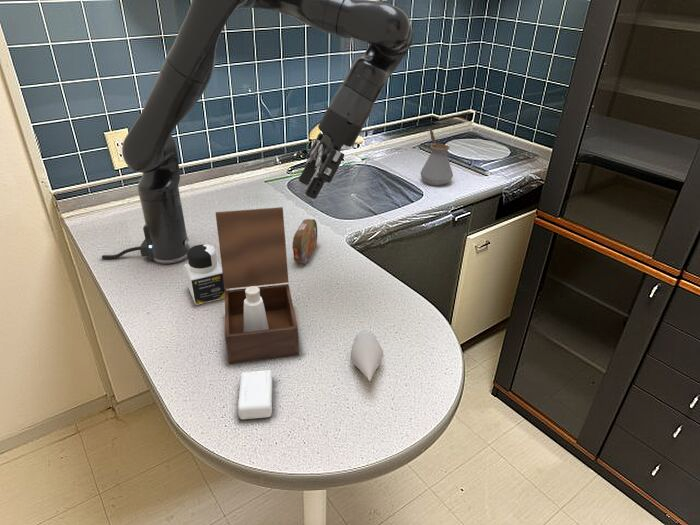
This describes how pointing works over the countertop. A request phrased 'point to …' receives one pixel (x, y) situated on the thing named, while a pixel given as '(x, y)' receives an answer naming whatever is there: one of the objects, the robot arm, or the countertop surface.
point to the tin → (305, 241)
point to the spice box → (262, 342)
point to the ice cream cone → (366, 353)
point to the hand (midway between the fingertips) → (306, 189)
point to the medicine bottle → (204, 274)
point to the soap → (255, 395)
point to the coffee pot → (437, 165)
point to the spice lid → (252, 247)
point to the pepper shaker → (254, 311)
